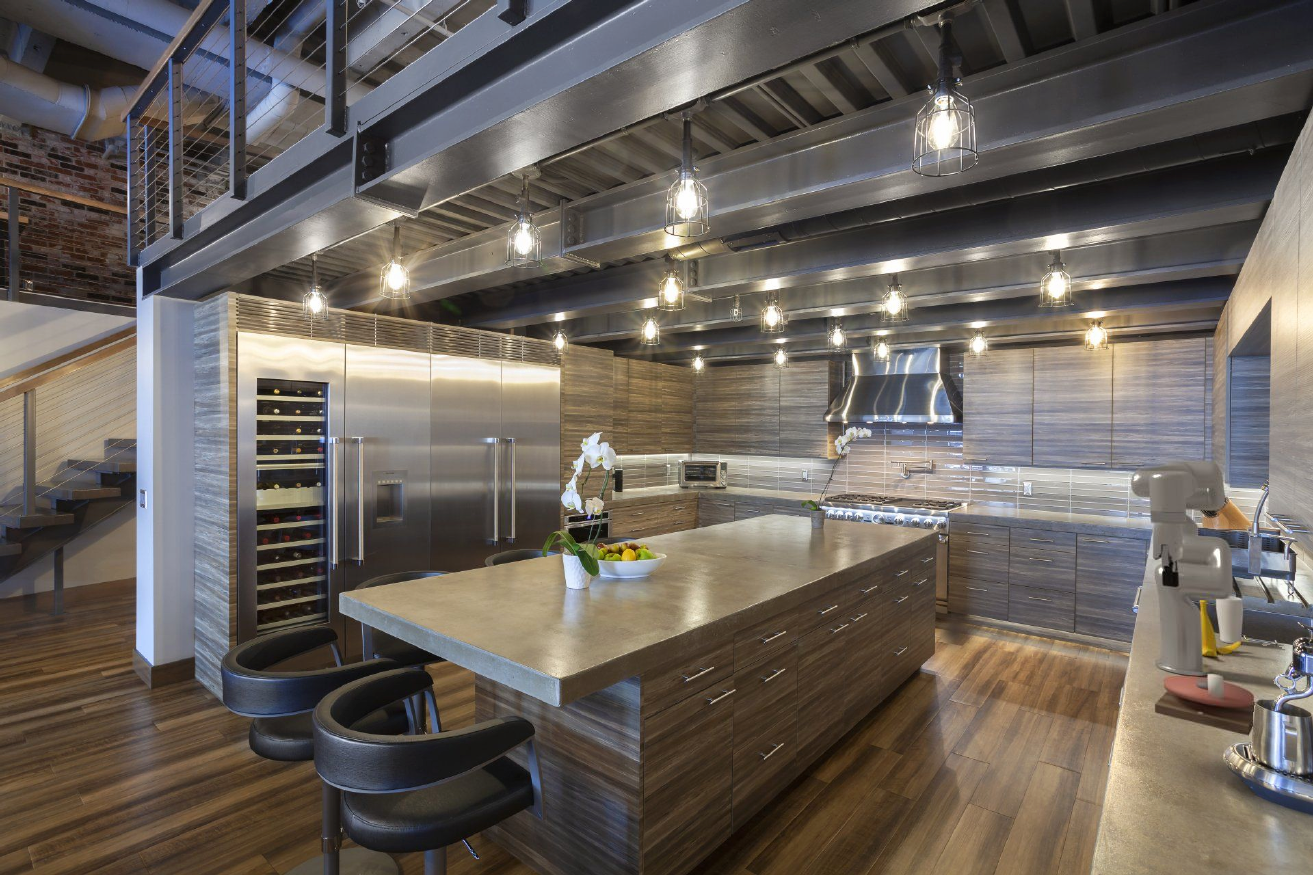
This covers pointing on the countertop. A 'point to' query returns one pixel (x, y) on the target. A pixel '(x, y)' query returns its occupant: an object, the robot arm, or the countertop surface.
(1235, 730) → the wheel base
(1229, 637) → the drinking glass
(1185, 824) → the countertop surface
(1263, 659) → the countertop surface
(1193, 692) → the handwheel
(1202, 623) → the banana peel
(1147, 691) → the countertop surface
